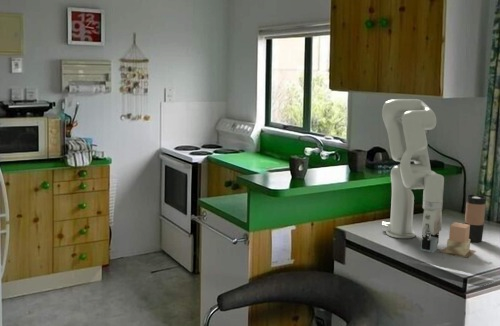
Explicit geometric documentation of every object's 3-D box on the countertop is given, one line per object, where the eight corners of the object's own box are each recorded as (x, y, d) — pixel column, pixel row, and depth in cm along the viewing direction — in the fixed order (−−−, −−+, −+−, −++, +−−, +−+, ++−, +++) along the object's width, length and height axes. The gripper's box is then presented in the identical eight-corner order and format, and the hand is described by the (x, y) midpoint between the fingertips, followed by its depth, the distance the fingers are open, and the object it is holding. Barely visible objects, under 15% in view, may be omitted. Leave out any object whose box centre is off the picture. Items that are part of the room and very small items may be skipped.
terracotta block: (448, 240, 228) (450, 225, 227) (453, 236, 233) (454, 222, 232) (464, 243, 225) (465, 228, 224) (468, 239, 230) (470, 224, 228)
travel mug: (472, 246, 240) (476, 199, 236) (459, 240, 247) (462, 195, 243) (486, 243, 243) (490, 197, 239) (472, 238, 250) (476, 193, 246)
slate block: (420, 252, 231) (421, 238, 230) (424, 249, 235) (425, 235, 234) (432, 255, 229) (433, 240, 227) (437, 251, 232) (438, 237, 231)
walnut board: (439, 254, 229) (439, 252, 229) (448, 247, 238) (448, 245, 237) (467, 260, 223) (467, 258, 222) (475, 253, 231) (475, 250, 231)
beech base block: (446, 252, 229) (447, 240, 228) (451, 247, 235) (452, 235, 234) (464, 255, 225) (465, 243, 224) (469, 251, 231) (470, 239, 230)
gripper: (434, 210, 219) (431, 253, 222) (448, 202, 233) (446, 242, 236) (415, 207, 223) (413, 250, 226) (430, 199, 237) (428, 239, 240)
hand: (430, 246), depth 231 cm, fingers open, 9 cm apart
